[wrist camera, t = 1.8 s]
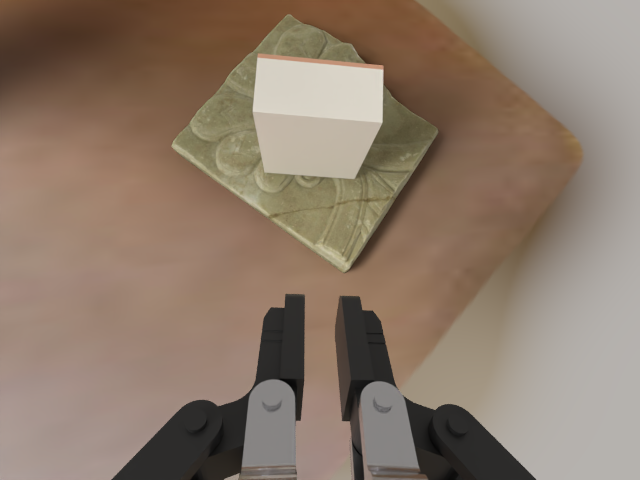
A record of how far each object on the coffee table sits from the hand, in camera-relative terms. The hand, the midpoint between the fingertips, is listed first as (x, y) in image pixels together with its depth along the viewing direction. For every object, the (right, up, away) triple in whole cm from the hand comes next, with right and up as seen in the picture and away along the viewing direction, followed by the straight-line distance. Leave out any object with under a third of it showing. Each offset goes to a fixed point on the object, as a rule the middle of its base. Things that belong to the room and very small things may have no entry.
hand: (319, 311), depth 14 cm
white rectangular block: (-1, +10, +18) cm, 21 cm away
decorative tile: (-1, +13, +23) cm, 26 cm away
